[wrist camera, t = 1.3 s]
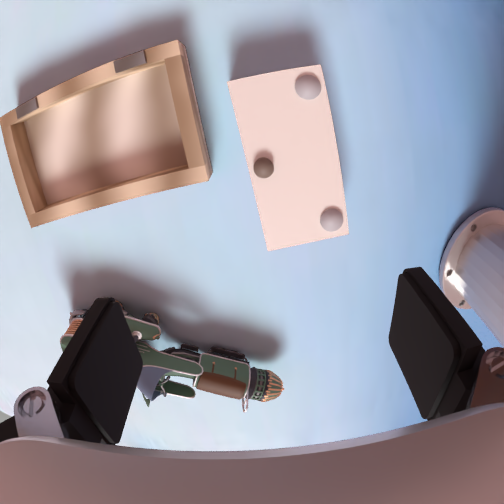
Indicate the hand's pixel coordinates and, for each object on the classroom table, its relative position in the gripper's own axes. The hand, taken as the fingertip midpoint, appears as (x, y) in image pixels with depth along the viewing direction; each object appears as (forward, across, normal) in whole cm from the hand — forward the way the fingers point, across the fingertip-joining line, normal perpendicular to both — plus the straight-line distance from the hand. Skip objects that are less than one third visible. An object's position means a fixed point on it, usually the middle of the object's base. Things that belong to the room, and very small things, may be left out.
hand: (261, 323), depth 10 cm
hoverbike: (+18, +10, +17) cm, 27 cm away
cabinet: (+18, +12, -6) cm, 23 cm away
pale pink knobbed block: (+18, -3, -2) cm, 19 cm away
